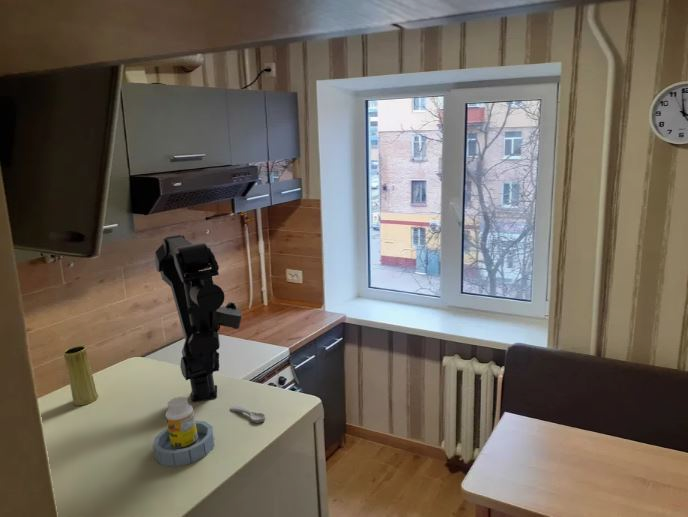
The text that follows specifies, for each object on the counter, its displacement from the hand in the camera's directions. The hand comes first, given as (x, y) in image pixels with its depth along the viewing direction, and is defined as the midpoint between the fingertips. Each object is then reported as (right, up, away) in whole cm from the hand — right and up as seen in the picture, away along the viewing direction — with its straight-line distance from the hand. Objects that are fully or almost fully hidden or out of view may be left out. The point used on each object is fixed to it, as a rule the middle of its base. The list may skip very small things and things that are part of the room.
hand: (211, 365), depth 120 cm
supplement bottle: (-3, -15, -9) cm, 18 cm away
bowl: (-3, -16, -9) cm, 18 cm away
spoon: (+8, -13, +3) cm, 15 cm away
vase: (-38, -13, +18) cm, 44 cm away
